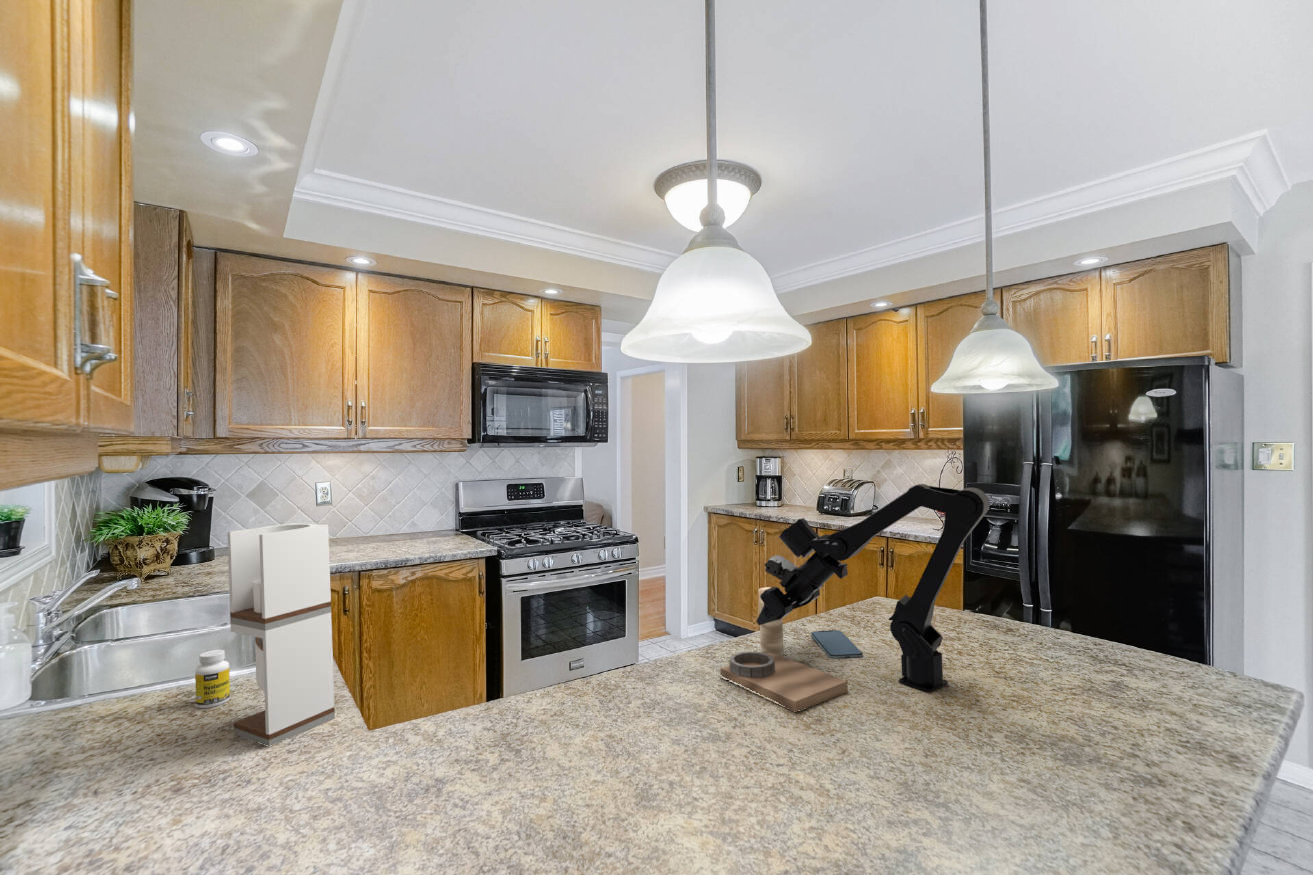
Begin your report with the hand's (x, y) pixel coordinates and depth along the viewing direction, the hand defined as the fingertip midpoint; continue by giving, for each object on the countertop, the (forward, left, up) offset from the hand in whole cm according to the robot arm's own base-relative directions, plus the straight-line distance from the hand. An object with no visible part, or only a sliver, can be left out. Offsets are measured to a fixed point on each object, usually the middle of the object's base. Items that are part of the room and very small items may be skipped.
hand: (767, 617), depth 135 cm
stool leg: (-1, 0, -8) cm, 8 cm away
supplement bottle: (+49, +102, -8) cm, 113 cm away
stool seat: (-14, +11, -8) cm, 19 cm away
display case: (+28, +91, -8) cm, 95 cm away
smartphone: (-7, -14, -8) cm, 18 cm away
